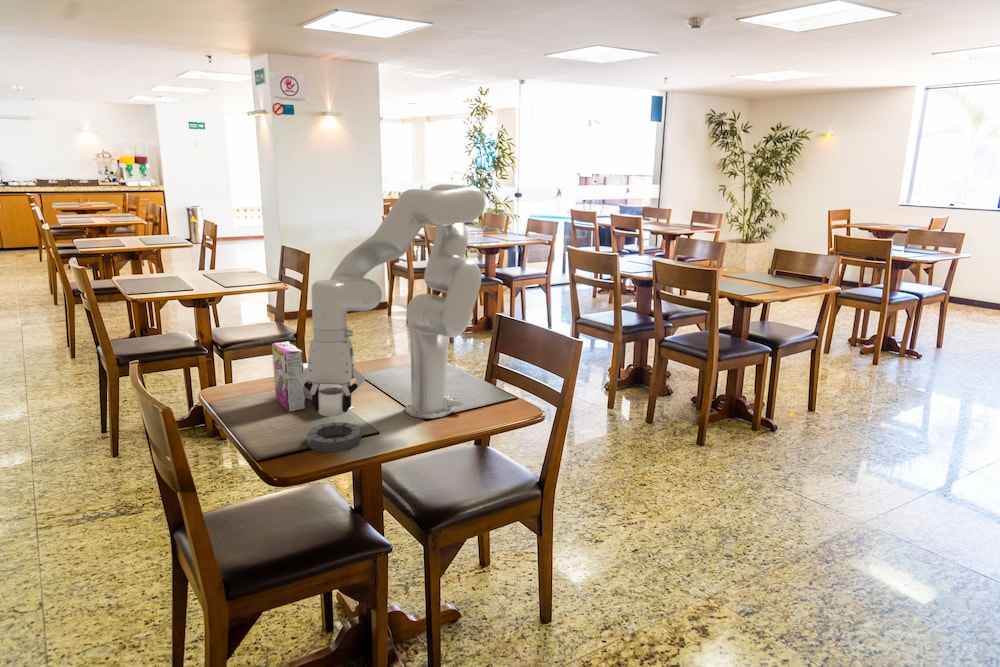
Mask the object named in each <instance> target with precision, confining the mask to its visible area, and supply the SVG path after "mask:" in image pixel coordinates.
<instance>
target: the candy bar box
mask: <svg viewBox="0 0 1000 667" xmlns="http://www.w3.org/2000/svg"><path fill="white" fill-rule="evenodd" d="M271 351H272V352H271V353H272V362H273V363H272V364H273V375H274V376H273V377H274V389H275V390H274V391H275V400H276V402H278V403H279V404H280V405H281V406H282V407H283V408H284V407H285V408H286V409H287V410H286V409H285V408H284V409H285V410H286V411H287V412H289V411H292V410H297V411H299V410H298V409H301V410H305V409H306V397H305V390H304V385H303V384H302V383H301V382H300V381H298V379H297V378H298V376H299V375H300V374H302V373H303V363H304V361H303V351H302V350H301V349H300V348H298V346H295V345H294V344H293V343H292V342H290V341H288V340H287V341H280V342H273V343H271ZM304 408H305V409H304ZM292 412H293V411H292Z"/></svg>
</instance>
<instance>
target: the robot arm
mask: <svg viewBox="0 0 1000 667" xmlns="http://www.w3.org/2000/svg"><path fill="white" fill-rule="evenodd" d="M485 206H486V201H485V197H484V194H483V192H482V191H481V190H480V189H479V188H477V187H476V186H472V185H462V184H461V185H459V184H449V183H448V184H447V183H446V184H442V183H441V184H436V185H434V186H432V187H431V188H430V189H421V188H420V189H419V188H411V189H410V188H409V189H406V190H404V191H403V192H402V193H401V194H400V195H399V197H398V198H397V199H396V201H395V203H394V204H393V206H391V209H390V210H389V212H388V213H387V215H386V216H385V217H384V219H383V220H382V222H381V223H380V224H379V227H378V228H377V229H376V231H375V232H374V234H373V235H371V236H370V237H368V238H366V239H365V240H364V241H362V243H360V244H359V245H358V246H356V247H354V248H353V249H352V250H351V251H349V252H348V253H347V254H346V255H345V256H344V257H343V259H341V261H340V263H339V264H338V265H337V267H336V269H335V270H334V272H333V273H332V275H331V276H330V278H329V279H322V280H317V281H315V282H314V283H313V284H312V285H311V311H312V312H311V313H312V338H311V340H310V341H309V346H308V356H307V363H308V368H307V369H306V370H305V371H304V372H303V373H302V374H300V375H299V376H298V378H297V379H298V381H300V382H301V383H302V384H303V385H304V386H305V388H306V389H308V390H309V391H310V394H311V395H312V400H311V402H312V403H311V404H312V407H314V412H319V404H318V391H319V387H320V384H341V386H342V388H343V390H344V396H343V412H345V413H347V412H349V410H348V409H349V408H350V407H351V406H352V393H353V392H355V391H356V390H357V388H359V386H362V384H364V382H365V381H366V378H365V377H364V376H363V375H362V373H360V372H359V370H357V369H356V365H355V357H354V348H353V344H352V340H351V339H349V338H350V337H354V330H350V329H349V327H348V319H347V318H348V312H366V311H370V310H373V309H375V308H376V307H377V306H379V304H380V302H381V301H382V298H383V292H382V288H381V287H380V285H379V284H378V283H377V282H375V281H374V280H372V279H369V278H366V277H365V276H366V275H367V274H368V273H369V272H371V270H373V269H374V268H376V267H378V266H380V265H382V264H386V263H389V262H391V261H394V260H397V259H399V258H402V257H403V256H404V255H405V254H406V253H407V251H408V249H409V248H410V247H411V245H412V243H413V242H414V240H415V238H416V237H417V235H418V234H419V232H420V231H421V229H422V228H423V226H428V227H435V237H434V241H433V244H432V248H431V250H430V254H429V258H428V261H427V264H426V267H425V270H424V276H423V278H424V279H423V280H424V283H425V285H426V286H427V287H429V288H430V289H432V290H434V291H437V292H442V293H446V296H445V297H444V296H440V295H434V294H431V293H421V294H420V293H419V294H418V295H415V296H414V297H413V298H411V299H410V301H409V302H408V305H407V308H406V322H407V326H408V329H409V336H410V337H409V339H410V386H411V388H410V391H411V392H410V395H411V396H410V397H411V398H410V399H411V401H410V402H408V403H407V404H406V405H405V412H406V413H407V415H409V416H411V417H414V418H419V419H438V417H439V418H443V417H447V416H448V415H450V414H451V413H453V411H452V410H454V409H453V408H454V407H464V404H465V403H464V398H463V399H462V398H461V397H460V396H451V395H450V391H449V390H448V345H447V339H446V338H457V337H460V336H461V335H462V334H463V333H464V332H465V330H466V329H467V328H468V325H469V323H470V320H471V318H472V314H473V312H474V308H475V306H476V302H477V299H478V296H479V292H480V290H481V289H480V288H481V284H482V273H481V269H480V266H479V265H478V264H477V262H475V261H474V260H472V259H469V258H467V257H465V255H466V254H465V253H466V251H467V246H468V243H469V237H468V236H469V234H468V230H467V227H466V225H465V223H468V222H472V221H475V220H476V219H478V218H479V217H480V216H481V215H482V214H483V213H484V210H485ZM347 338H348V339H347ZM307 375H308V379H307V378H306V376H307ZM353 379H355V380H356V381H355V382H353V383H352V380H353ZM308 380H309V381H308ZM311 382H312V383H311ZM351 383H352V384H351Z"/></svg>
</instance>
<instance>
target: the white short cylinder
mask: <svg viewBox="0 0 1000 667" xmlns="http://www.w3.org/2000/svg"><path fill="white" fill-rule="evenodd" d="M343 396H344V390H343V389H342V388H336V387H330V388H324V389H321V390H319V391H318V404H319V410H318V414H319V415H320V416H323V417H337V416H342V415H343V414H346V412H343Z"/></svg>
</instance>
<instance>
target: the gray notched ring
mask: <svg viewBox="0 0 1000 667" xmlns="http://www.w3.org/2000/svg"><path fill="white" fill-rule="evenodd" d="M329 435H332V436H343V437H337V438H325V437H324V436H326V437H330V436H329ZM344 435H345V436H344ZM322 437H324V438H322ZM306 442H307V443H308V444H309V445H308V444H307V443H306V444H307V445H308V447H309V446H310V447H309V449H311V450H313V451H316V452H319V453H340V452H346V451H350V450H352V449H354V448H356V447H358V446H360V443H361V442H362V429H361V428H360V427H359V426H358V425H357V424H354V423H350V422H337V421H335V422H333V421H332V422H328V423H322V424H321V423H320V424H318V425H316V426H314V427H311V428H310V429H309V431H308V432H307V433H306Z"/></svg>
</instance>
